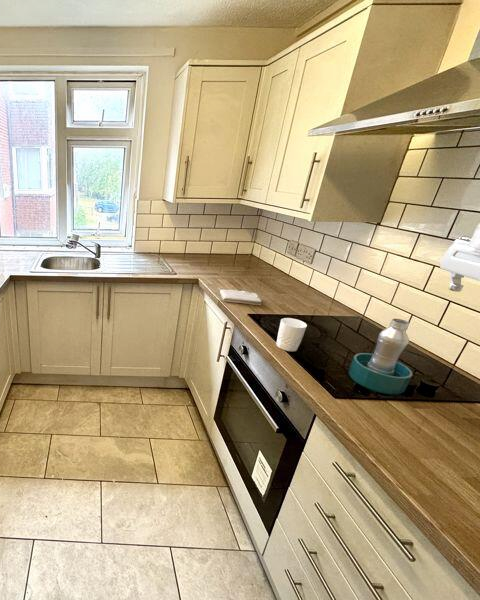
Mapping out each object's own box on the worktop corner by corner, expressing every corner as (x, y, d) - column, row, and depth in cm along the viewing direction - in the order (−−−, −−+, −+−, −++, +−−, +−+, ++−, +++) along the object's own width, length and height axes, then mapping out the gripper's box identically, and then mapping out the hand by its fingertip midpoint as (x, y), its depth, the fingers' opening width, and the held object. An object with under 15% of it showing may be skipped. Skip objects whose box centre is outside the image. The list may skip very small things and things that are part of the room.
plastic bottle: (386, 377, 98) (412, 319, 91) (391, 388, 93) (420, 328, 85) (360, 370, 101) (383, 314, 94) (363, 381, 96) (388, 323, 88)
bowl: (390, 373, 101) (397, 357, 99) (414, 399, 89) (423, 382, 87) (341, 365, 105) (346, 349, 103) (358, 389, 94) (365, 372, 91)
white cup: (277, 339, 121) (284, 315, 117) (301, 347, 116) (309, 322, 112) (271, 346, 116) (278, 322, 112) (296, 355, 111) (303, 329, 107)
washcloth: (262, 306, 151) (263, 300, 150) (222, 302, 155) (223, 296, 154) (256, 297, 161) (257, 291, 160) (219, 293, 166) (220, 288, 164)
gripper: (444, 234, 84) (422, 283, 89) (531, 251, 65) (497, 312, 70) (472, 235, 83) (448, 284, 88) (569, 252, 64) (531, 314, 69)
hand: (471, 297), depth 79 cm, fingers open, 8 cm apart
